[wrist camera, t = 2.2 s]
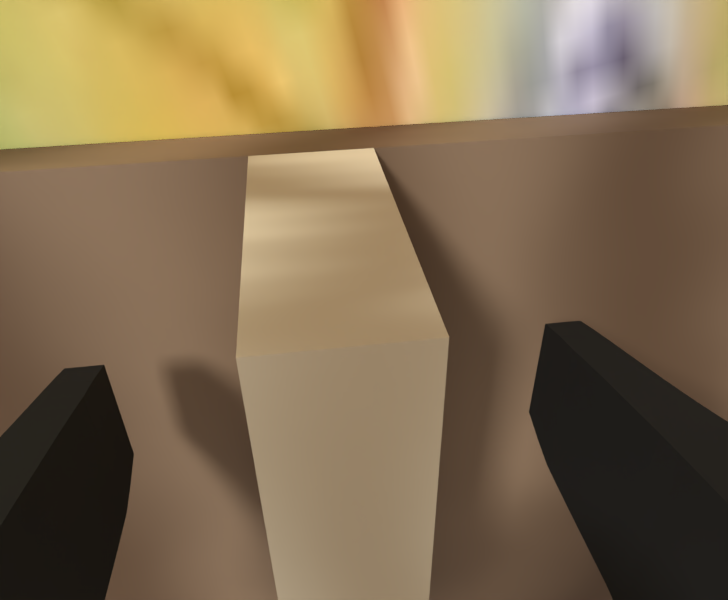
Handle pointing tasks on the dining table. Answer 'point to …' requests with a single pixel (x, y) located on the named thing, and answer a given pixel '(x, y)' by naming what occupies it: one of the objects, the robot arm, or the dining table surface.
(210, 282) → the board
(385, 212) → the beige long rectangular bar
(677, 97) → the dining table surface
